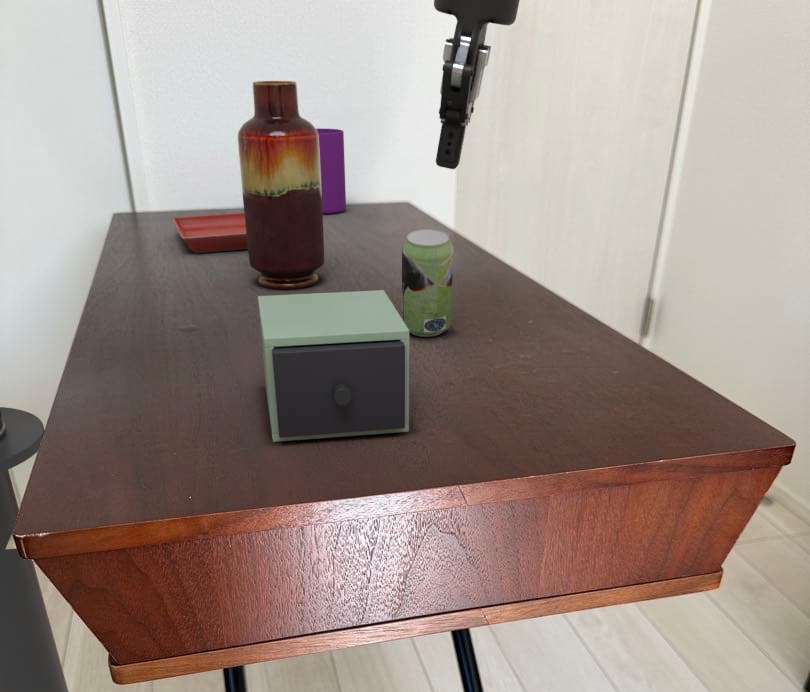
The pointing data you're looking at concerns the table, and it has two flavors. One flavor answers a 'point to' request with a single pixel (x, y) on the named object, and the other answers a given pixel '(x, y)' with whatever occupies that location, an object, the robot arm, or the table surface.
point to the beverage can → (427, 282)
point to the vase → (281, 189)
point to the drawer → (339, 387)
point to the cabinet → (328, 334)
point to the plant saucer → (213, 232)
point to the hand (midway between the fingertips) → (446, 166)
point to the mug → (332, 170)
